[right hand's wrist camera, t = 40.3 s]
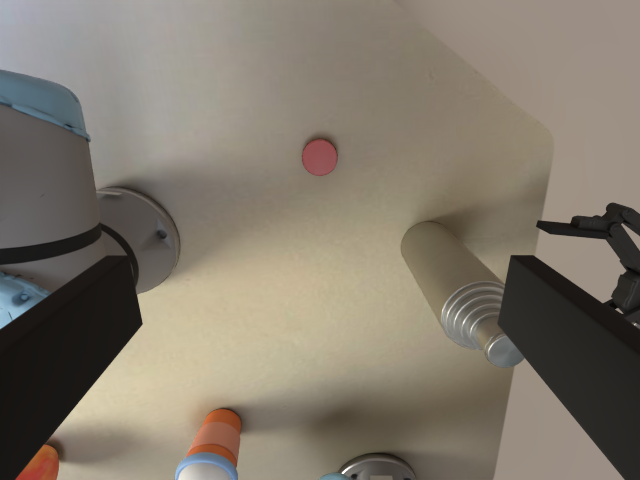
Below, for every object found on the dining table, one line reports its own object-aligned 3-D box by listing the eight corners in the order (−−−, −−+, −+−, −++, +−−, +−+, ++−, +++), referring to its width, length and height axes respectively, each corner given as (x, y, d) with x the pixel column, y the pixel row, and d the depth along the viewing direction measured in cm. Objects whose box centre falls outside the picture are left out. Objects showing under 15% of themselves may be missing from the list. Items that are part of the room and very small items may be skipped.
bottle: (460, 252, 52) (567, 362, 29) (415, 277, 53) (485, 401, 31) (437, 211, 50) (534, 296, 27) (391, 238, 51) (447, 341, 29)
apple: (10, 453, 65) (-43, 511, 56) (31, 421, 63) (-20, 477, 53) (59, 476, 67) (17, 536, 58) (82, 447, 65) (42, 504, 55)
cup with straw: (254, 407, 61) (229, 521, 45) (244, 445, 65) (218, 565, 48) (201, 397, 61) (155, 508, 44) (194, 436, 64) (148, 554, 47)
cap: (309, 133, 46) (308, 134, 44) (342, 145, 47) (342, 147, 45) (298, 166, 48) (297, 169, 46) (330, 178, 48) (330, 180, 46)
